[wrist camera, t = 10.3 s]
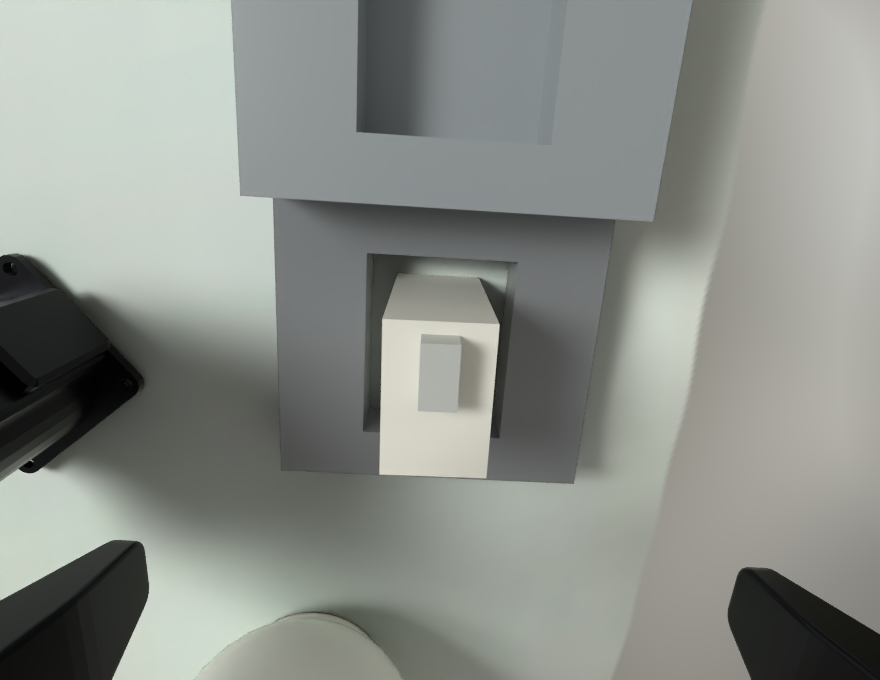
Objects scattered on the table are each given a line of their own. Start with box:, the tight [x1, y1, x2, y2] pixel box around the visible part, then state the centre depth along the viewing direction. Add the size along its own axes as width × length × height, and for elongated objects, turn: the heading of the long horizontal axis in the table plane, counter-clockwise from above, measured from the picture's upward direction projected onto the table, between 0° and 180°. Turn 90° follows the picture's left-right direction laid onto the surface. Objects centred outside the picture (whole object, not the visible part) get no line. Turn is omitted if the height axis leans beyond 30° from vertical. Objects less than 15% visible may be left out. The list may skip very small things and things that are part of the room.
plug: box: [379, 273, 500, 478], centre depth 17 cm, size 4×3×7 cm, turn 177°
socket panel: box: [231, 0, 693, 484], centre depth 17 cm, size 20×11×5 cm, turn 176°
